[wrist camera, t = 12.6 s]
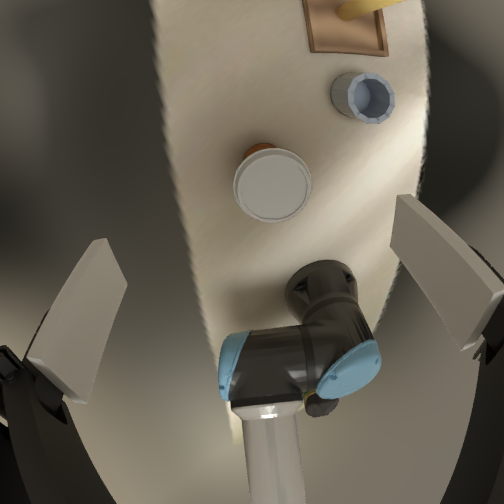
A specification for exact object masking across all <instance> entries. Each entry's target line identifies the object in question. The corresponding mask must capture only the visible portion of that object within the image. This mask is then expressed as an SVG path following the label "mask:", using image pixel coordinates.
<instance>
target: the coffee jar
mask: <svg viewBox="0 0 504 504" xmlns="http://www.w3.org/2000/svg"><path fill="white" fill-rule="evenodd" d="M302 394H303V399H304V405H305V409H306V413H307V414H308V415H310V416H312V417H320V416H325V415H328V414H329V413H330V412H332V411H333V410H334V409H335V407H336V406H337V404H338V402H339V398H336V399H328V398H327V399H323V398H321V397H319V395H318V394H317V393H316V390H312V391H307V392H302Z"/></svg>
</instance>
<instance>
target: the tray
mask: <svg viewBox="0 0 504 504" xmlns="http://www.w3.org/2000/svg"><path fill="white" fill-rule="evenodd" d="M348 1H350V0H302V2H303V7H304V13H305V19H306V25H307V31H308V38H309V45H310V52H311V53H346V54H359V55H370V56H378V57H386V56H389V52H388V44H387V36H386V29H385V23H384V17H383V11H382V8H381V9H378V10H375V11H373V12H370V13H368V14H365V15H363V16H360V17H358V18H356V19H353V20H351V21H343V20H341V19H340V18H339V17H338V16H337V13H336V11H337V8H338V7H340V6H342V5H343V4H345V3H347V2H348Z"/></svg>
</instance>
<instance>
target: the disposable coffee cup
mask: <svg viewBox="0 0 504 504" xmlns="http://www.w3.org/2000/svg"><path fill="white" fill-rule="evenodd" d="M311 189H312V178H311V173H310V171H309V169H308V167H307V165H306V164H305V162H304V161H303V160H302V159H301V158H300V157H299V156H298V155H296V154H294V153H293V152H291V151H288V150H285V149H281V148H277V147H276V146H274V145H272V144H268V143H261V144H257V145H254V146H253V147H251V148H250V149H249V150H248V151H247V153H246V154H245V157H244V160H243V162H242V163H241V165H240V166H239V167H238V169H237V171H236V174H235V177H234V182H233V191H234V196H235V199H236V201H237V203H238V205H239V206H240V207H241V209H242V210H243V211H244V212H245V213H247V214H248V215H249V216H251V217H253V218H255V219H257V220H259V221H262V222H267V223H278V222H283V221H286V220H289V219H290V218H292V217H294V216H295V215H297V214H298V213H299V212H300V211H301V210H302V209H303V208H304V207H305V205H306V203H307V201H308V199H309V196H310V194H311Z"/></svg>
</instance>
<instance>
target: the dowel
mask: <svg viewBox="0 0 504 504" xmlns="http://www.w3.org/2000/svg"><path fill="white" fill-rule="evenodd" d="M401 1H404V0H350V1H348V2H347V3H345V4H343V5H342V6H340V7H338V8H337V11H336V13H337V16H338V17H339V18H340V19H341V20H343V21H351V20H353V19H356V18H358V17H360V16H363V15H365V14H368V13H370V12H373V11H375V10H378V9H381V8H384V7H386V6H389V5H392V4H395V3H398V2H401Z"/></svg>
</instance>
